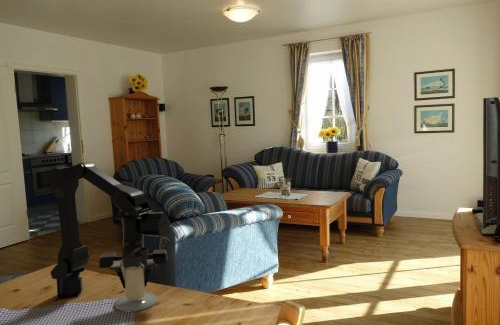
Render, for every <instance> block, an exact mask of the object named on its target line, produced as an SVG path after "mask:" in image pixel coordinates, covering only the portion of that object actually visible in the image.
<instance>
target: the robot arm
mask: <svg viewBox="0 0 500 325" xmlns="http://www.w3.org/2000/svg"><path fill="white" fill-rule="evenodd" d="M47 179H48V180H47V181H48V183H49V188H50V191H51V192H52V193H53V194H54V196H55V197H56V200H57V210H58V218H59V227H60V235H61V236H60V237H61V246H60V247H59V248H60V249H59V250H58V252H57V263H56V265H55V266H54V267H53V268H52V270H50V272H49V273H50V276H51V279H52V280H56V296H55V299H56V300H58V299H69V298H71V299H72V298H78V297H79V296H80V295H81V294H82V291H83V290H84V289H83V284H84V283H83V277H81V273H83V272H85V268H86V266H87V264H88V263H89V258H90V255H89V247H88V245H83V243H82V242H81V240H80V233H79V224H78V214H77V206H76V204H77V203H76V193H77V190H78V188H79V185H80V184H79V183H80V181H79V180H82V179H84V180H86V181H87V182H89V183H90V184H92V185H93V186H94V187H96V188H97V189H98V190H100V191H101V192H103V193H104V194H106V195H107V196H109V197H110V198H111V200H112V203H113V204H114V205H115V206H116V207H117V208H118V209H119V210H120V212H119V214H117V215H115V219H116V220H122V244H123V247H122V249H121V250H122V251H121V255H117V253H116V252H103V253H102V254H101V256H100V257H99V259H98V268H99V269H106V268H110V270H111V271H114V272H115V273H116V274H117V276H118V278H119V281H120V284H121V285H122V287H123V289H125V268H128V267H134V266H135V267H139V266H140V265H141V263H142V262H145V261H146V265H145V288H146V287H147V286H148V281H149V278H150V274H151V272H152V270H153V268H154V267H157V266H158V265H159V264H167V263H168V251H167V249H166V248H161V249H153V252H152V253H149V248H148V247H147V246H146V247H145V240H144V239H145V236H146V237H147V236H148V237H149V236H150V237H161V238H162V237H166V236H167V234H168V232H169V229H170V222H169V220H168V218H167V217H166V216H165V214H166V213H165V212H164V211H159V212H157V211H156V212H155V210H154V209H153V208H152V206H151V204H150V203H149V202H148V200H147V199H146V195H145V193H144V192H143V191H142V190H140V189H138V188H135V187H132V186H128V185H124V184H122V183H120V182H119V181H118V180H116V179H115V178H113V177H112V176H110V175H109V174H107V173H105V171H103V170H101V169H100V168H98V167H97V166H95V164H94V163H92V162H88V161H87V162H79V163H78V164H75V165H71V166H63V167H54V168H52V169H50V171H49V172H48V174H47Z"/></svg>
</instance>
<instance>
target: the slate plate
mask: <svg viewBox="0 0 500 325" xmlns="http://www.w3.org/2000/svg"><path fill="white" fill-rule="evenodd" d="M113 303H114V304H113V305H114V306H115V307H114V309H115V308H116V309H115V310H117V309H118V310H117V311H119V310H121V311H120V312H123V311H134V313H135V312H141V311H144V310H149V309H150V308H152V307H154V306H155V305H156V304H157V303H158V298H157V296H156V295H155V294H153V293H150V292H145V296H144V297H142V298H139V299H127V298H126V294H125V295H123V296H120V297H118V298H117V299H116V300H114V302H113Z"/></svg>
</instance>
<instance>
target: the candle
mask: <svg viewBox="0 0 500 325" xmlns="http://www.w3.org/2000/svg"><path fill="white" fill-rule="evenodd" d="M124 273H125V295H126V298H127V299H139V298H142V297H144V296H145V293H146V287H145V274H146V271H145V265H144V264H143V263H142V262H141V265H140V266H139V267H135V266H134V267H128V268H125V267H124Z"/></svg>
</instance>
